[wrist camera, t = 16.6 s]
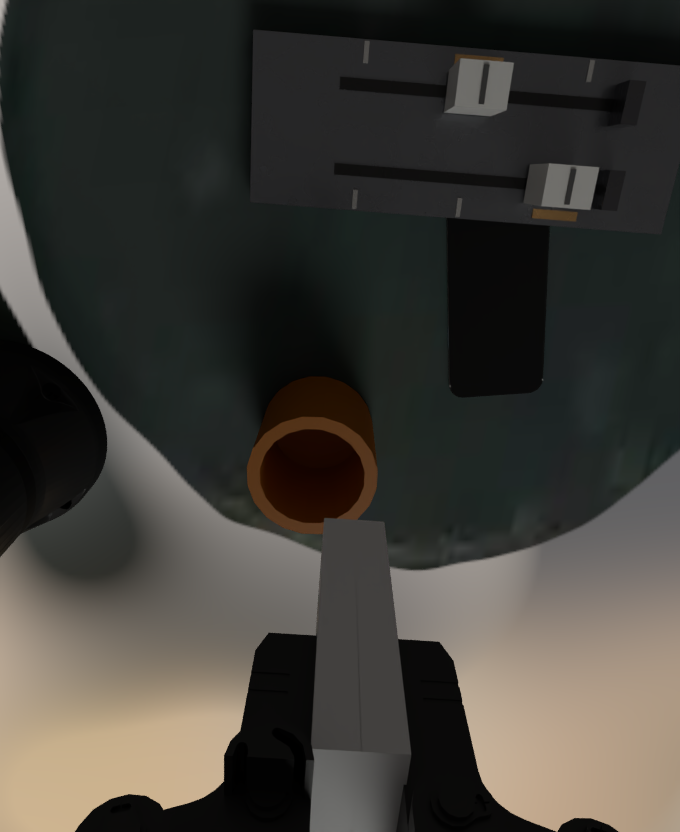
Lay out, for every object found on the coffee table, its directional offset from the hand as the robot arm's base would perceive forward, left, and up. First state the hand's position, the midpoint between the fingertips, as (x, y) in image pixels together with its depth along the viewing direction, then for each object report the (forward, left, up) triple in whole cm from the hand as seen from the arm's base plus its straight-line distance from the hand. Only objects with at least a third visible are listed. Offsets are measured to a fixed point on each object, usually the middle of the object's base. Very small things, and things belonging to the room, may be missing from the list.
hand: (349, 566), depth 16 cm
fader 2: (+13, +10, -30) cm, 34 cm away
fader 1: (+7, +15, -30) cm, 34 cm away
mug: (-1, -11, -33) cm, 35 cm away
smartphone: (+11, +1, -33) cm, 35 cm away
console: (+7, +12, -32) cm, 35 cm away
